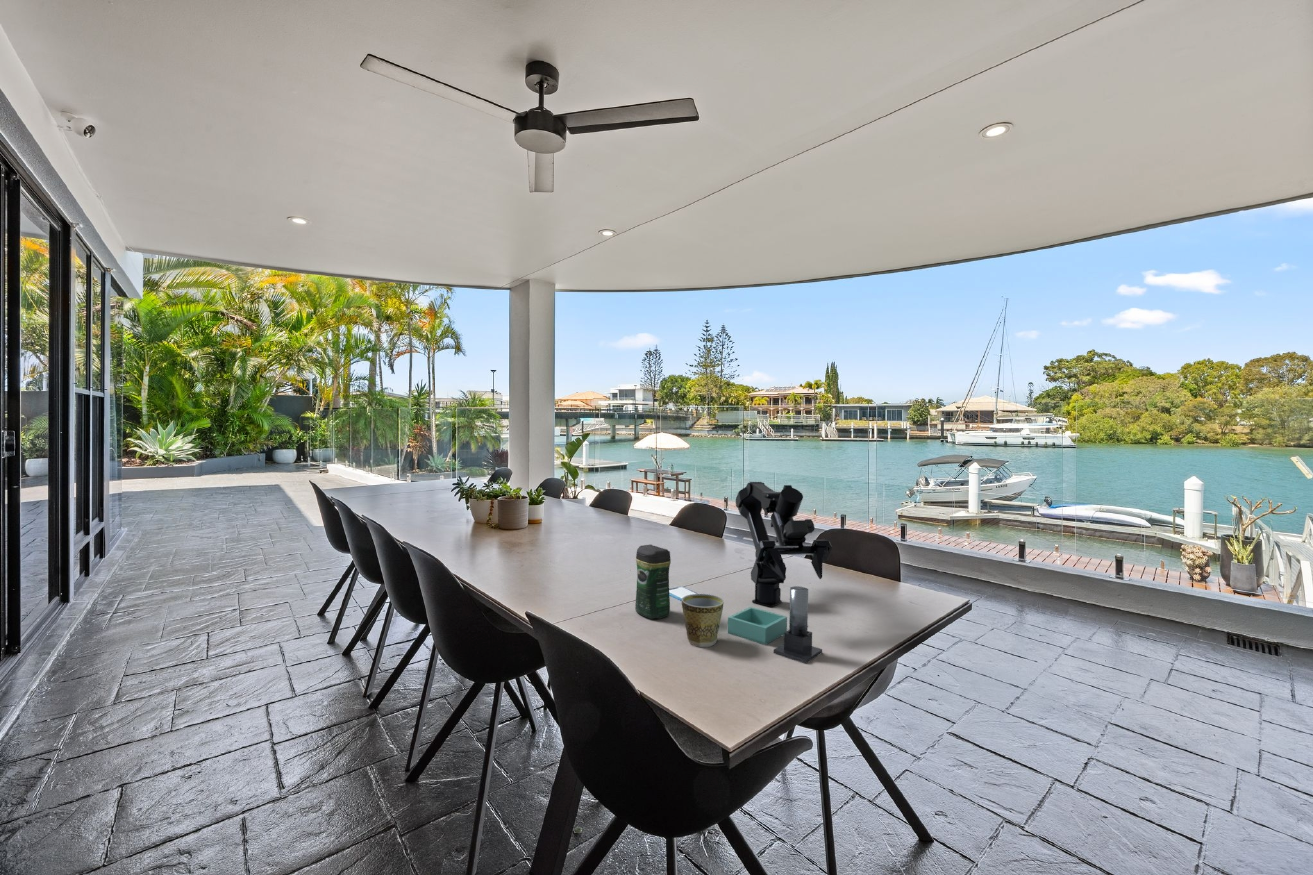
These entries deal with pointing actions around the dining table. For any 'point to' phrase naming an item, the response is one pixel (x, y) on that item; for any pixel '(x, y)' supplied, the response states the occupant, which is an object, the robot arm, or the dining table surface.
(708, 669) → the dining table surface
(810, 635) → the strut
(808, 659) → the stud base
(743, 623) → the bin
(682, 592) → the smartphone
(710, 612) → the ceramic cup
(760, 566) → the robot arm
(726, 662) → the dining table surface
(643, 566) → the coffee jar
